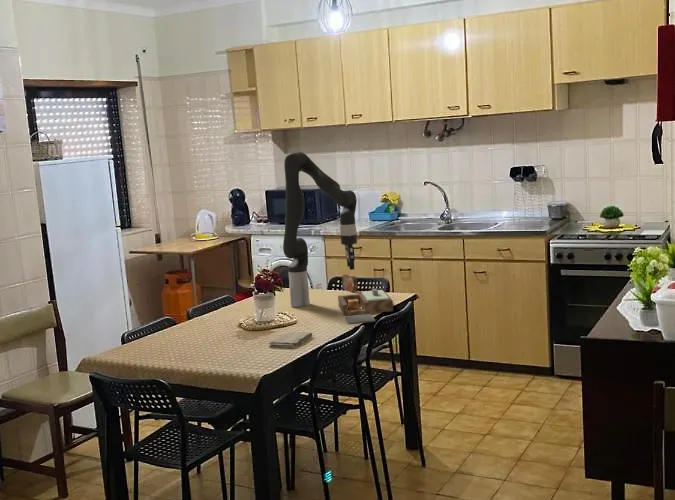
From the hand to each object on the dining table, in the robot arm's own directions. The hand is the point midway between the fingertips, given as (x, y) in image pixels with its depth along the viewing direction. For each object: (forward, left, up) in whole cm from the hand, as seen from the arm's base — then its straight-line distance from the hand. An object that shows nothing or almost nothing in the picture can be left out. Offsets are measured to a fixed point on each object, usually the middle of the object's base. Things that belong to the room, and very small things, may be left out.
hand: (350, 267), depth 360 cm
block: (0, 0, -20) cm, 20 cm away
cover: (+11, 0, -15) cm, 18 cm away
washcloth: (-32, -47, -21) cm, 61 cm away
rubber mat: (0, -21, -20) cm, 29 cm away
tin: (+4, +44, -20) cm, 49 cm away
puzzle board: (+6, 0, -20) cm, 21 cm away
